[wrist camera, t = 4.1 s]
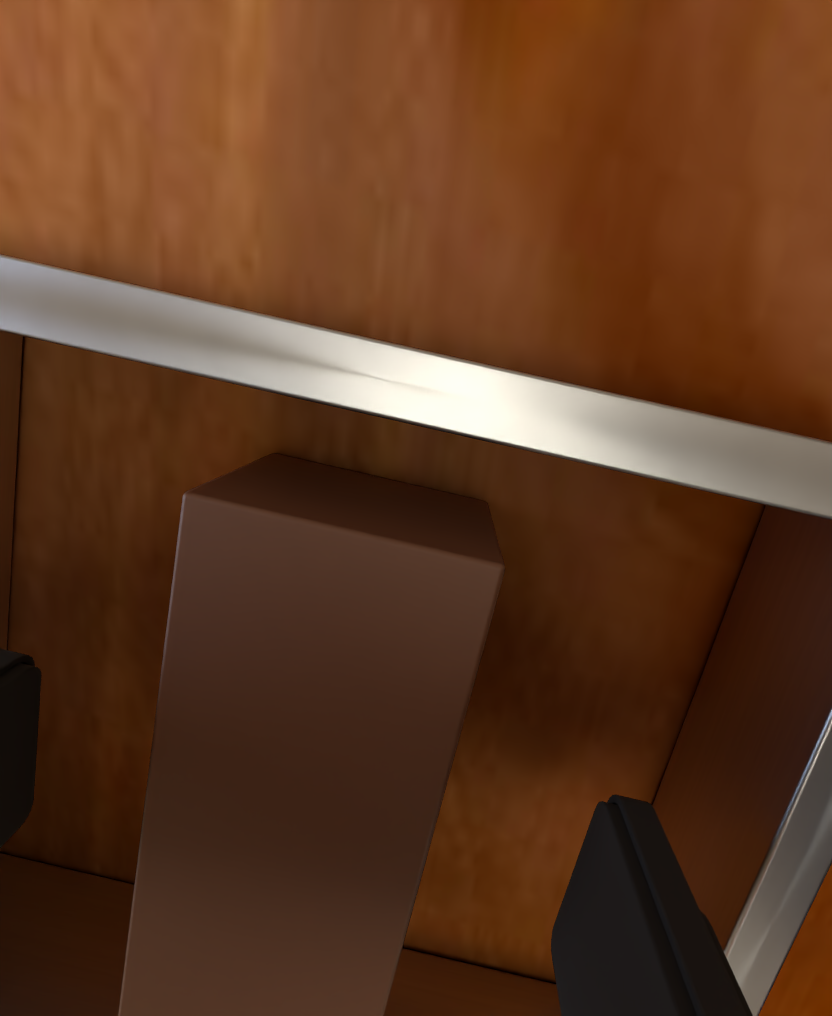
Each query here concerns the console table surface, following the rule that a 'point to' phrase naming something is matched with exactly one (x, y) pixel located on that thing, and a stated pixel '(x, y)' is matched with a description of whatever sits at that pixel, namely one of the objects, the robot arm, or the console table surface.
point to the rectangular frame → (537, 428)
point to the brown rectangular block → (302, 737)
